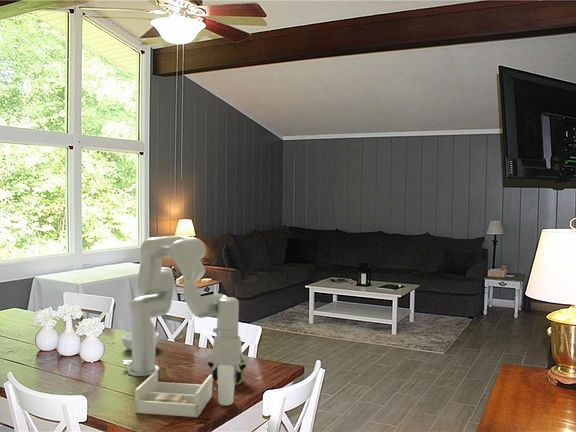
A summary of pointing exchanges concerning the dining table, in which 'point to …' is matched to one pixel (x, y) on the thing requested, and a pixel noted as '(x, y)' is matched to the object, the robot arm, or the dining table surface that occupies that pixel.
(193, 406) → the tray
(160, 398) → the offcut stack
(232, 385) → the drinking glass
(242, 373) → the plant pot
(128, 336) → the cereal bowl
